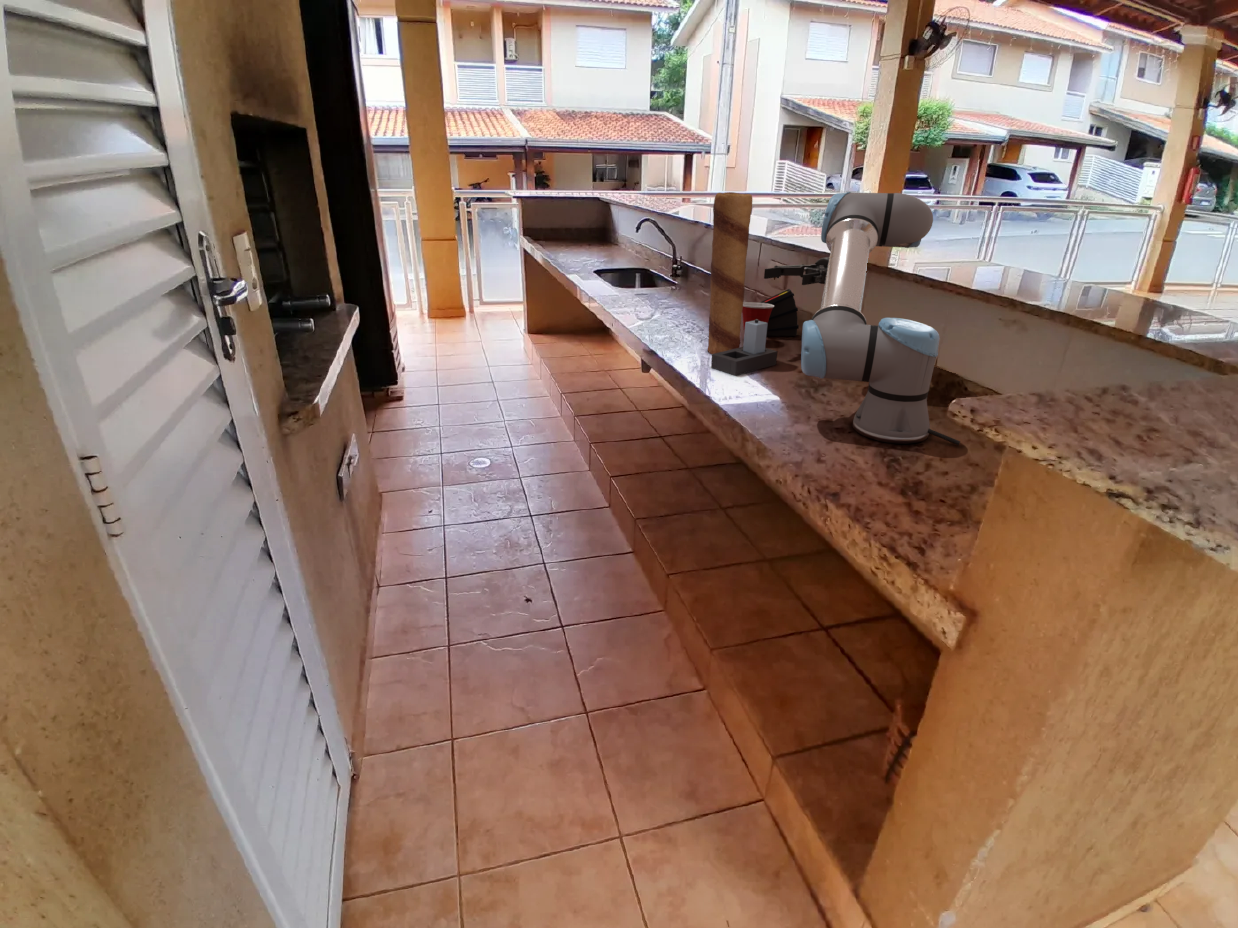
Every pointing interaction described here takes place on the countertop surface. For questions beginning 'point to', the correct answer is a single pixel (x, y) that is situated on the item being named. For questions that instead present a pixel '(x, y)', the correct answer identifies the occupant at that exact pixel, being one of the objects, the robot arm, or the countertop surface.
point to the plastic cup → (756, 312)
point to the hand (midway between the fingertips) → (783, 276)
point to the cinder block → (742, 360)
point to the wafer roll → (728, 269)
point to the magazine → (782, 315)
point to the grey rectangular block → (755, 336)
